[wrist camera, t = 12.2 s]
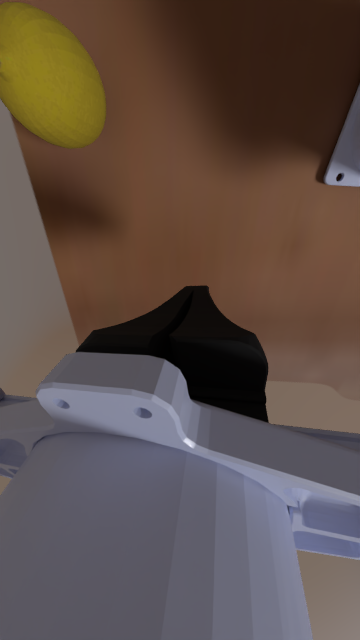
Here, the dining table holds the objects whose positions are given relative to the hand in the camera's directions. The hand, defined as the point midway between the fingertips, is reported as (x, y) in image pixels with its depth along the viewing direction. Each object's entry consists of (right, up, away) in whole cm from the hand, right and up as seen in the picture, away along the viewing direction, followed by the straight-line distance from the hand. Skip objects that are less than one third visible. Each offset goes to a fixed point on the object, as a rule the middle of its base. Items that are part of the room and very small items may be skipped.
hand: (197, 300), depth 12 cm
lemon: (-8, +16, +4) cm, 18 cm away
